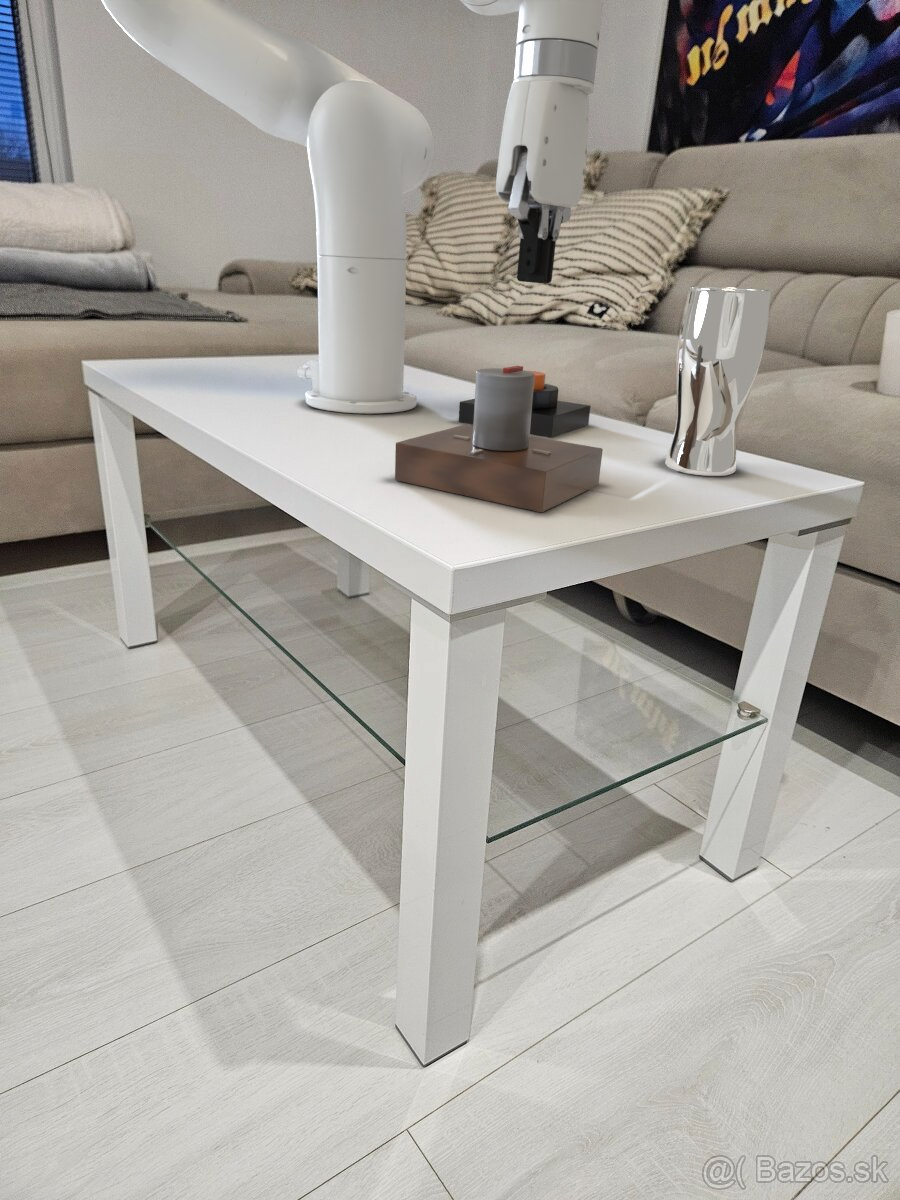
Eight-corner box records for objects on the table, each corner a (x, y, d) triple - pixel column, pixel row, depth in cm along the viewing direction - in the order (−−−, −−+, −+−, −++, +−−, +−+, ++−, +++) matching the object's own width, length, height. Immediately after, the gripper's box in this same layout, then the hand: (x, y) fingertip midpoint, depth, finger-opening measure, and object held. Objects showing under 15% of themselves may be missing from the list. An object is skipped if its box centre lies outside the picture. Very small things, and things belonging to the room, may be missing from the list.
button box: (458, 422, 88) (460, 384, 86) (500, 411, 95) (502, 376, 93) (551, 438, 82) (555, 397, 81) (588, 425, 89) (592, 388, 88)
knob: (510, 454, 62) (516, 374, 59) (461, 444, 64) (465, 367, 61) (538, 444, 65) (545, 369, 63) (491, 436, 67) (496, 362, 65)
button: (503, 389, 86) (504, 372, 86) (519, 386, 89) (521, 369, 89) (534, 393, 85) (535, 376, 84) (549, 390, 87) (551, 373, 87)
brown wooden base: (394, 480, 65) (395, 440, 64) (462, 458, 73) (464, 422, 71) (541, 513, 58) (546, 469, 57) (598, 485, 66) (603, 446, 65)
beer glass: (655, 456, 77) (680, 284, 71) (731, 461, 76) (763, 288, 70) (665, 474, 71) (693, 287, 65) (748, 480, 70) (784, 292, 64)
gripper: (555, 88, 85) (536, 279, 92) (477, 57, 73) (463, 278, 80) (623, 85, 81) (598, 285, 88) (552, 52, 69) (530, 285, 77)
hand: (533, 281), depth 84 cm, fingers closed
